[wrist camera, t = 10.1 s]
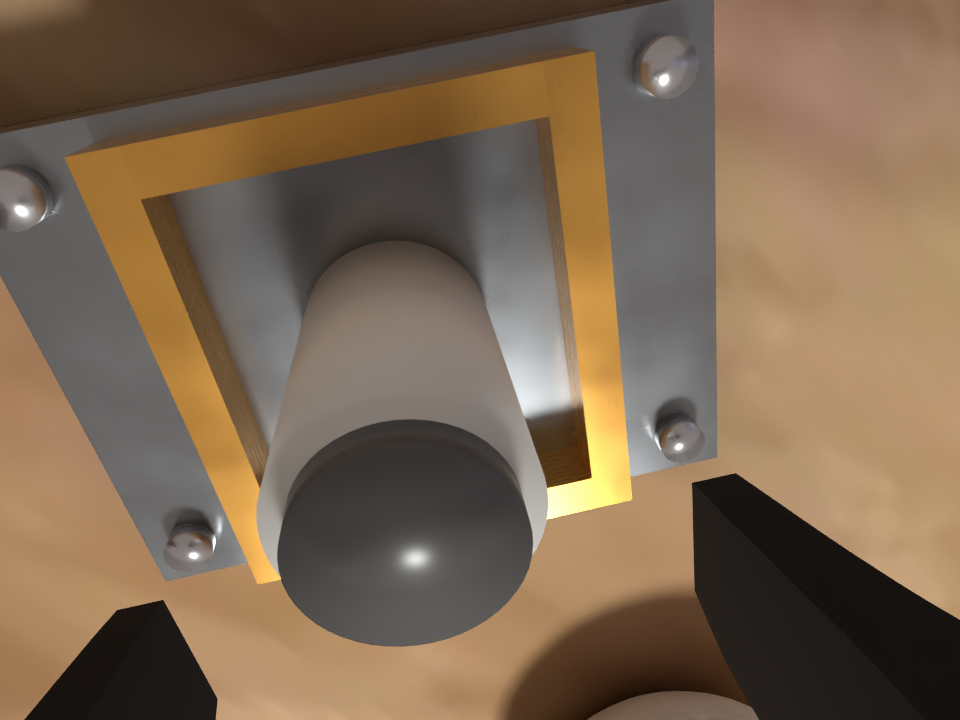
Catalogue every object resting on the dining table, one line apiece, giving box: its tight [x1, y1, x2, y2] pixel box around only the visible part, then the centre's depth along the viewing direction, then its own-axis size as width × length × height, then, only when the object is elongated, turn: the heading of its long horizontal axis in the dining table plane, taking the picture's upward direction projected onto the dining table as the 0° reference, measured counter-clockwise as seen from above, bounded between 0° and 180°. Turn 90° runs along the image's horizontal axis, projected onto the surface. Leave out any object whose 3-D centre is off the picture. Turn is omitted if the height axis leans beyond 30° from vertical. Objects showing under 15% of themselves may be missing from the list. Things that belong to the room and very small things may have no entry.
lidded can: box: [256, 241, 549, 647], centre depth 13 cm, size 4×4×8 cm
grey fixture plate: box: [0, 0, 717, 584], centre depth 17 cm, size 16×12×4 cm
